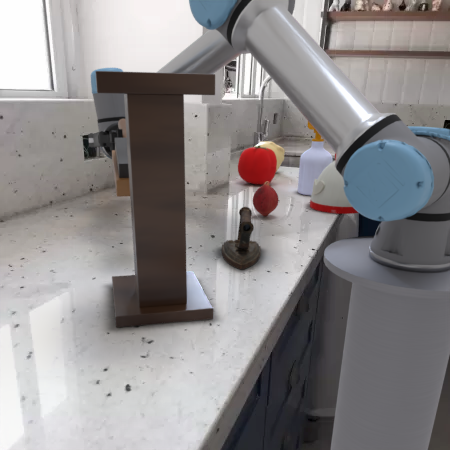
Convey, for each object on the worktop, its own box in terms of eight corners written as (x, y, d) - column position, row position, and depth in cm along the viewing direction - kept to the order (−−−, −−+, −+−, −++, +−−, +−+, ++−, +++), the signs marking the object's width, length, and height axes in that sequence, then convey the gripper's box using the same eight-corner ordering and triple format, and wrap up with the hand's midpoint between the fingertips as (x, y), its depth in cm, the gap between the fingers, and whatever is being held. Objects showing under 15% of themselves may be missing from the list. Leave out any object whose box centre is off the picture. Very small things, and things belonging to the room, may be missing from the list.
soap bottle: (326, 197, 134) (335, 101, 124) (294, 194, 137) (300, 100, 127) (331, 191, 141) (341, 101, 132) (301, 189, 144) (308, 100, 135)
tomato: (241, 187, 145) (242, 147, 141) (233, 180, 158) (234, 143, 153) (280, 187, 147) (283, 147, 143) (270, 179, 159) (272, 143, 155)
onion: (261, 220, 108) (263, 184, 105) (247, 215, 113) (248, 180, 109) (282, 217, 111) (284, 182, 108) (267, 212, 115) (269, 178, 112)
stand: (112, 285, 71) (95, 74, 59) (193, 280, 73) (191, 77, 62) (116, 327, 58) (95, 70, 47) (213, 319, 61) (215, 74, 50)
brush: (106, 126, 91) (105, 97, 87) (139, 126, 92) (139, 98, 88) (116, 196, 75) (115, 165, 72) (155, 195, 77) (155, 165, 73)
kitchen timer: (322, 214, 114) (328, 148, 109) (302, 202, 127) (306, 142, 121) (375, 212, 117) (385, 148, 111) (351, 201, 130) (358, 142, 124)
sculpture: (287, 172, 175) (290, 141, 170) (267, 175, 166) (268, 143, 162) (263, 168, 182) (264, 138, 177) (242, 172, 174) (243, 140, 169)
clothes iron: (259, 250, 89) (268, 201, 83) (261, 286, 80) (271, 233, 74) (221, 246, 88) (228, 196, 82) (219, 281, 79) (226, 228, 73)
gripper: (156, 159, 106) (173, 160, 84) (85, 160, 102) (84, 161, 80) (154, 123, 104) (172, 114, 82) (81, 122, 100) (80, 113, 78)
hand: (128, 137), depth 81 cm, fingers closed on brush, 2 cm apart
